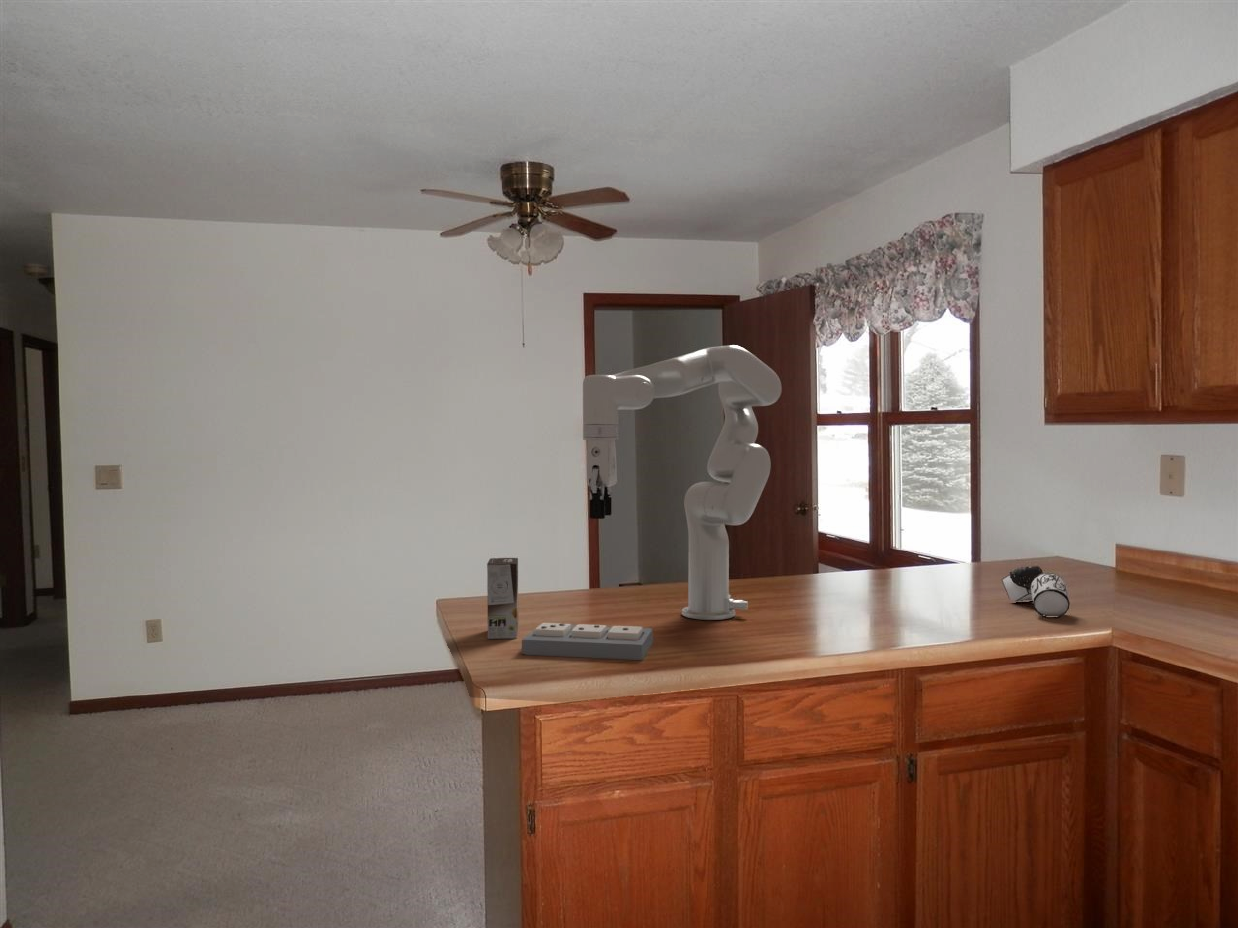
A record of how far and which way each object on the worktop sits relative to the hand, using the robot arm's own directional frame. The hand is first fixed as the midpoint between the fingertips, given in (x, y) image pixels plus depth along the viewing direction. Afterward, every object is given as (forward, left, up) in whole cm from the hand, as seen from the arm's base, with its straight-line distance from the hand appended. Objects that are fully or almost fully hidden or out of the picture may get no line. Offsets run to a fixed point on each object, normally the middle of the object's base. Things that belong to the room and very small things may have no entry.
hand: (600, 516), depth 193 cm
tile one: (-8, +12, -23) cm, 27 cm away
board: (0, +12, -26) cm, 28 cm away
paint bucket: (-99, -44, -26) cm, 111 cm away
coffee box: (+21, +3, -26) cm, 34 cm away
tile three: (+7, +12, -23) cm, 27 cm away
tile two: (0, +12, -23) cm, 26 cm away
